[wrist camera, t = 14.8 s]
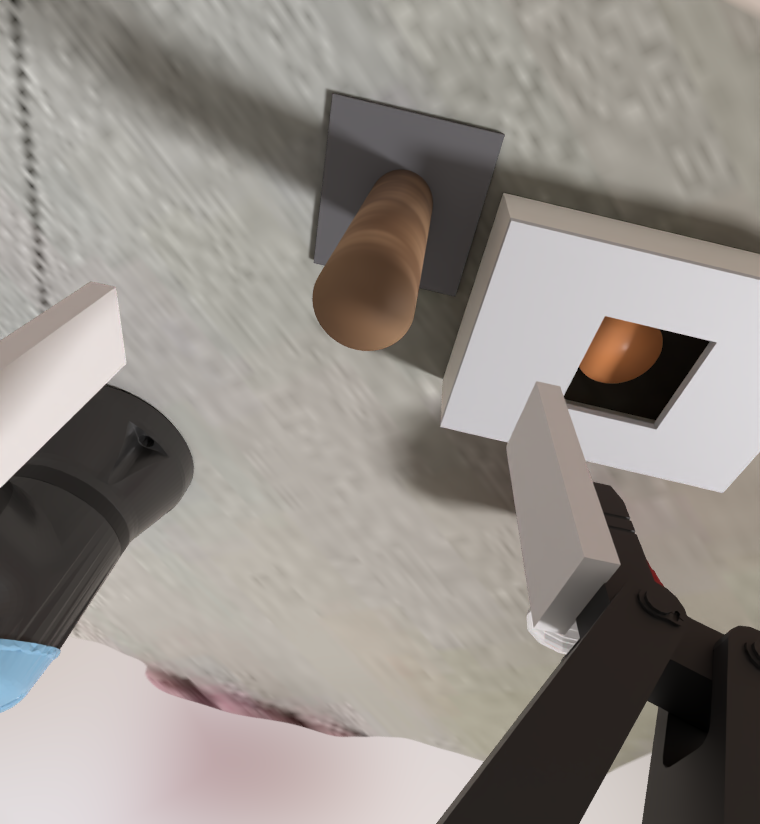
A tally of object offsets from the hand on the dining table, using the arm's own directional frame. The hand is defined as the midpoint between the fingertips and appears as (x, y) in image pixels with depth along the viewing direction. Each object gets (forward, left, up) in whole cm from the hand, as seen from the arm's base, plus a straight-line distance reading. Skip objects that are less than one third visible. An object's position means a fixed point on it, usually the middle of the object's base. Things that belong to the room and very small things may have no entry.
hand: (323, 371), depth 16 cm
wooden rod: (0, 0, -20) cm, 20 cm away
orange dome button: (+16, -5, -20) cm, 26 cm away
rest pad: (0, 0, -20) cm, 20 cm away
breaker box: (+16, -5, -20) cm, 26 cm away
